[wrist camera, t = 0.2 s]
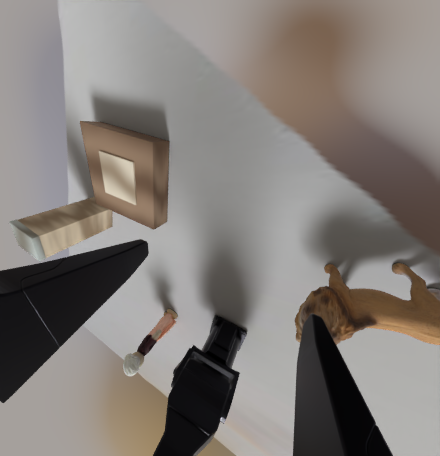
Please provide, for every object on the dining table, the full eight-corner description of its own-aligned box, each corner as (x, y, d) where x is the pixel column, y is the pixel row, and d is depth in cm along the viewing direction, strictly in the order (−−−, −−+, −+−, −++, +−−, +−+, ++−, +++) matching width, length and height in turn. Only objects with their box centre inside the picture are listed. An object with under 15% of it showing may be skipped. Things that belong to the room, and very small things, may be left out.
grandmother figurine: (173, 326, 44) (131, 385, 34) (161, 316, 44) (115, 371, 34) (183, 312, 39) (137, 375, 29) (169, 301, 40) (119, 359, 30)
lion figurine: (304, 298, 25) (301, 365, 18) (293, 265, 24) (284, 325, 17) (469, 296, 17) (582, 414, 10) (467, 248, 16) (595, 345, 9)
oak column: (112, 208, 34) (31, 238, 24) (112, 226, 37) (39, 261, 27) (94, 196, 35) (9, 221, 25) (95, 215, 38) (18, 245, 28)
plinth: (166, 221, 30) (153, 230, 27) (112, 198, 33) (94, 203, 30) (169, 141, 23) (151, 142, 21) (100, 121, 27) (78, 121, 24)
